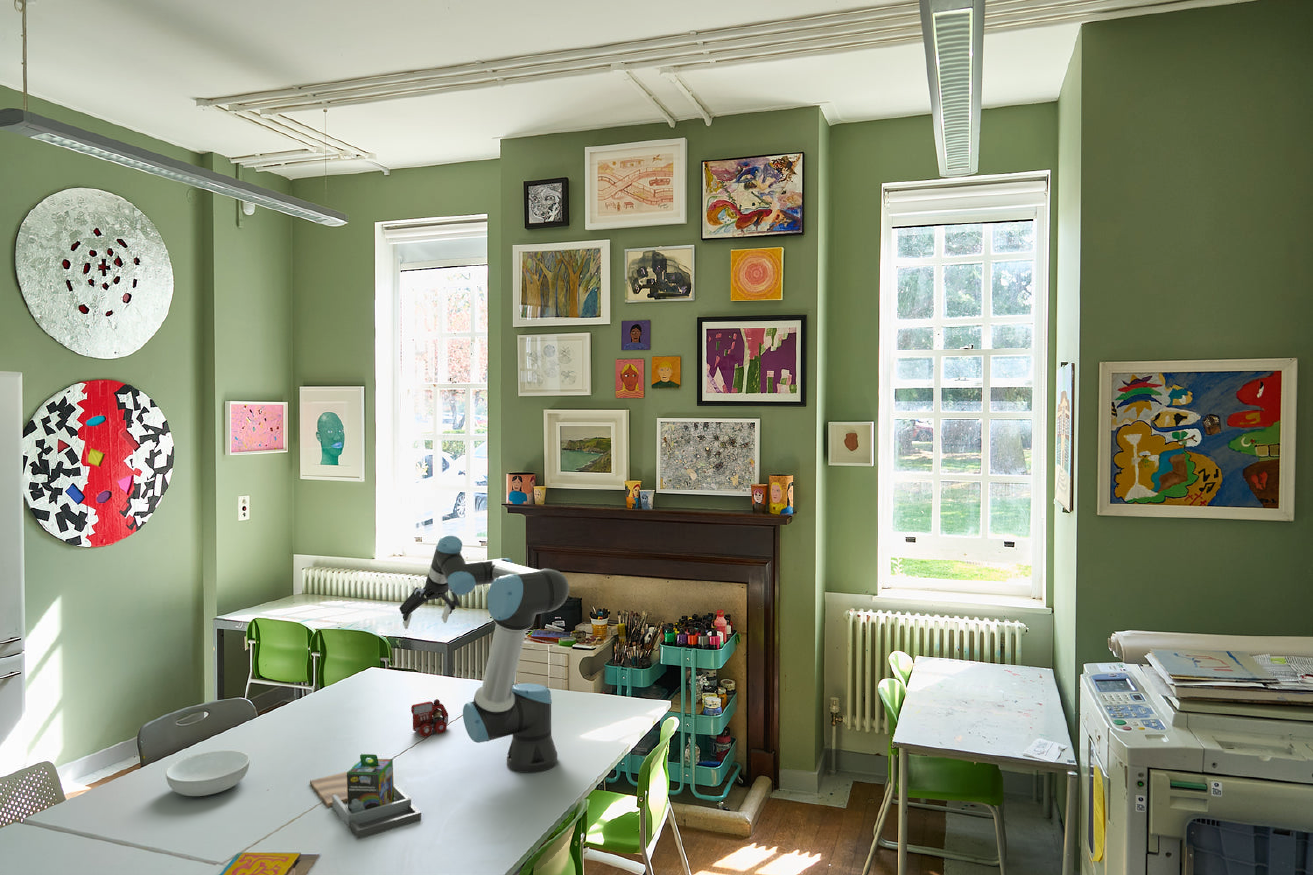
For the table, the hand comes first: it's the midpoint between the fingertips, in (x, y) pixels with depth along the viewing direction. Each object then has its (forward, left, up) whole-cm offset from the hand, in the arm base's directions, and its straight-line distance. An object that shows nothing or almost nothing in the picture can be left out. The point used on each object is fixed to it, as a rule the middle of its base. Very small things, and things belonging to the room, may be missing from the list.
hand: (424, 623), depth 279 cm
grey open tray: (-28, +55, -36) cm, 71 cm away
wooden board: (-10, +45, -36) cm, 58 cm away
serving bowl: (+27, +61, -36) cm, 76 cm away
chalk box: (-24, +53, -36) cm, 68 cm away
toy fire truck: (-3, +2, -36) cm, 36 cm away
